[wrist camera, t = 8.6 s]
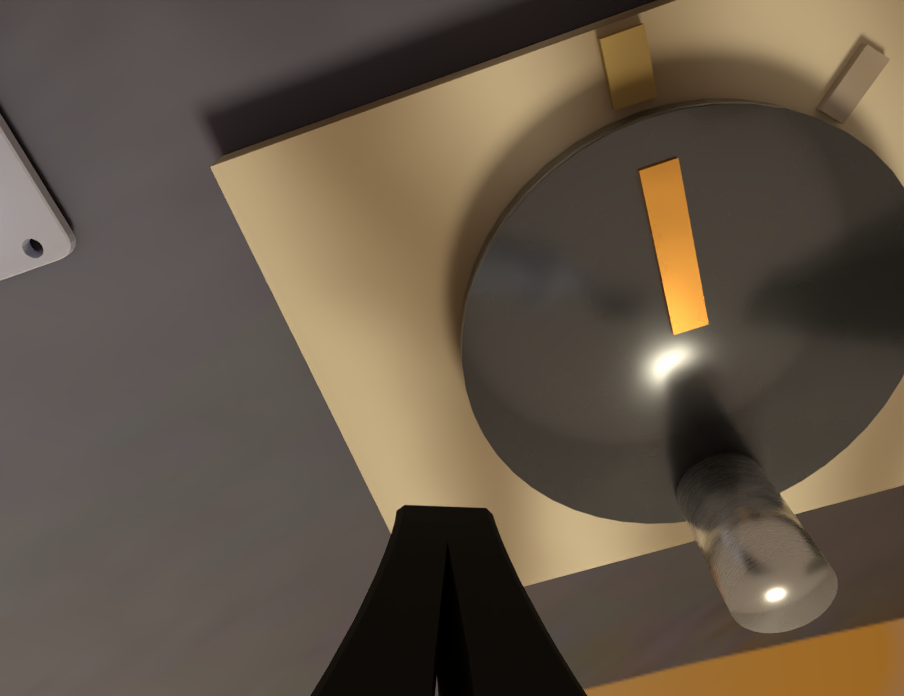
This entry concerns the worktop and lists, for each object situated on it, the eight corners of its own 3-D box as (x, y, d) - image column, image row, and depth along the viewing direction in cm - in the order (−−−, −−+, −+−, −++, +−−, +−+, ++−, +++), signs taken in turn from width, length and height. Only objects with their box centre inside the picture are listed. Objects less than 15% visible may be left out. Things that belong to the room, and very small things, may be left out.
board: (429, 584, 25) (429, 618, 24) (222, 155, 18) (206, 169, 17) (1010, 427, 23) (1047, 454, 21) (1042, -139, 16) (1100, -150, 14)
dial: (913, 447, 21) (1039, 567, 17) (530, 552, 23) (556, 689, 18) (899, 20, 16) (1083, 36, 11) (394, 196, 17) (385, 269, 13)
